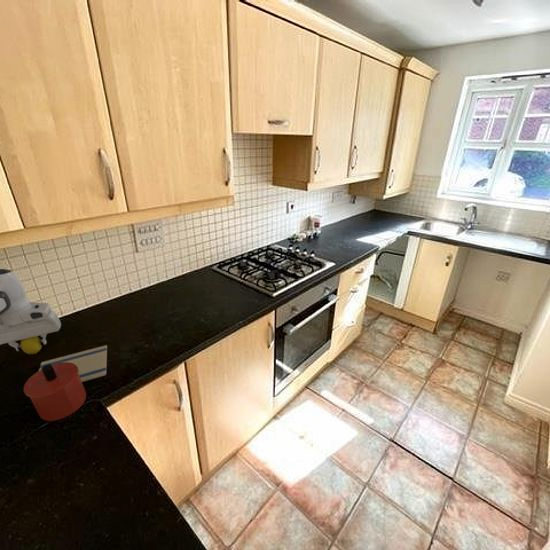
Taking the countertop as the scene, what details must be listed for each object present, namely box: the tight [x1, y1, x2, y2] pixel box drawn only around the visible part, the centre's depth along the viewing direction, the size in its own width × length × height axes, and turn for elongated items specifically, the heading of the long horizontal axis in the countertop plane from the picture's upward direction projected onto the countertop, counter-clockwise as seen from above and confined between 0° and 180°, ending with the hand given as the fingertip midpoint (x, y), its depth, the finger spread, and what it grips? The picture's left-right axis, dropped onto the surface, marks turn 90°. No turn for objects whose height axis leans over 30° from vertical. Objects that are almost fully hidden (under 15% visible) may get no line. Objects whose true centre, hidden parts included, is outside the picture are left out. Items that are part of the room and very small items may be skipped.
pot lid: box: [23, 362, 78, 398], centre depth 83 cm, size 13×13×5 cm
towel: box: [38, 344, 108, 383], centre depth 100 cm, size 20×16×1 cm
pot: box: [29, 374, 87, 422], centre depth 86 cm, size 12×12×10 cm
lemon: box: [20, 336, 43, 355], centre depth 106 cm, size 6×6×8 cm
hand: (32, 346), depth 106 cm, fingers closed on lemon, 5 cm apart
